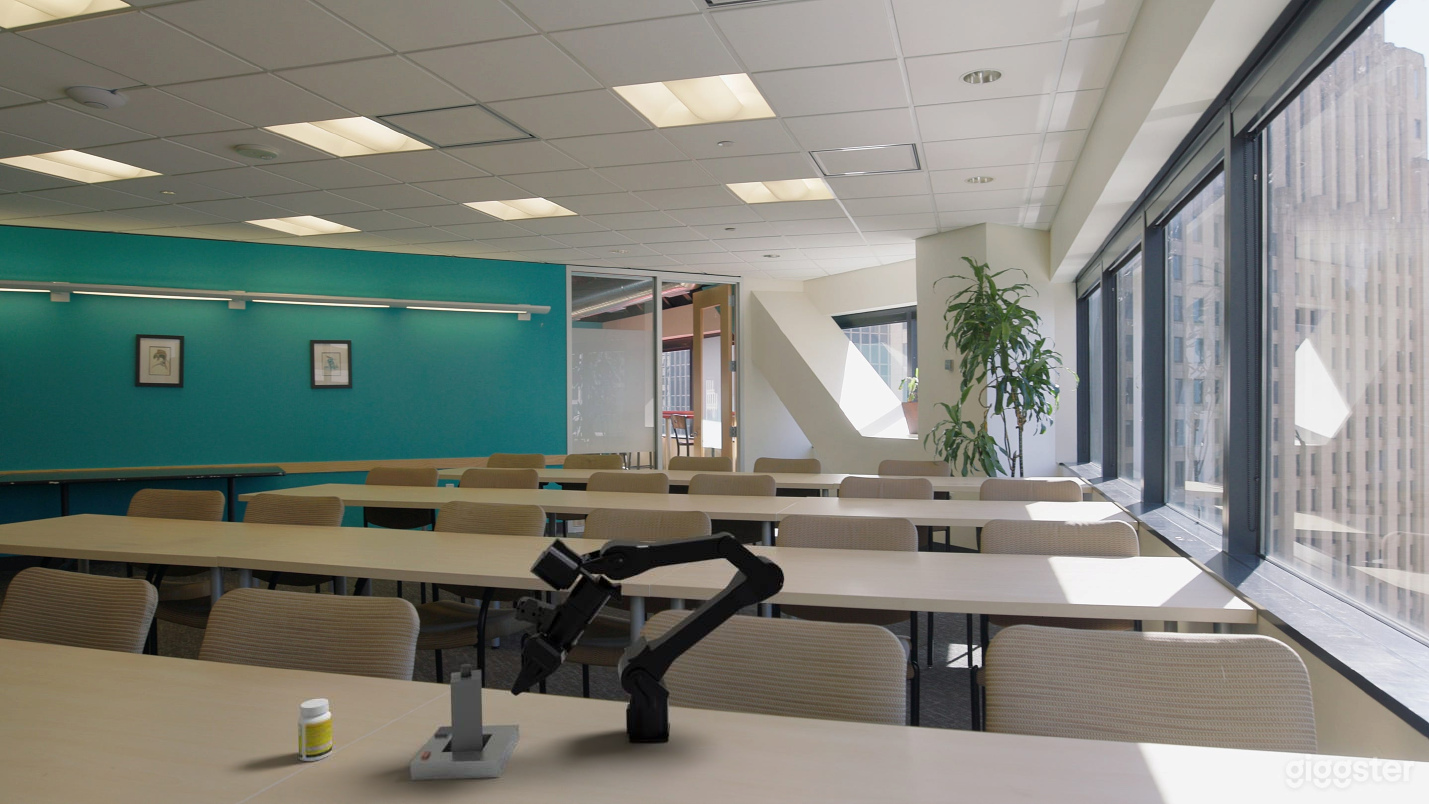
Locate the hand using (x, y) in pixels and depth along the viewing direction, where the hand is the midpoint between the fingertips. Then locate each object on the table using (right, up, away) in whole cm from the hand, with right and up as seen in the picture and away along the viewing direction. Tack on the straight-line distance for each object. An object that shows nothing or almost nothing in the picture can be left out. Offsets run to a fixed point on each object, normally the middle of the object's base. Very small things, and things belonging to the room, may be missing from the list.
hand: (519, 686), depth 127 cm
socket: (-7, -10, -4) cm, 13 cm away
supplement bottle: (-32, -11, -1) cm, 34 cm away
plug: (-7, -10, -4) cm, 13 cm away
